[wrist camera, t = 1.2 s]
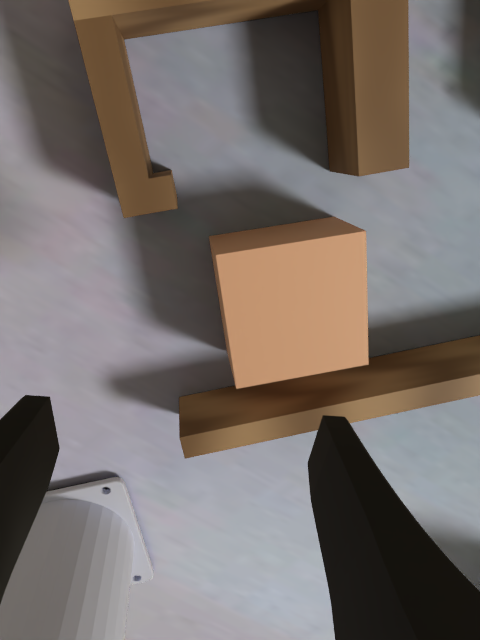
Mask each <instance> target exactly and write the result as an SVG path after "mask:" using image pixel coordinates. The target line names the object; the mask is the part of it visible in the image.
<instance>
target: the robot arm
mask: <svg viewBox="0 0 480 640" xmlns="http://www.w3.org/2000/svg"><path fill="white" fill-rule="evenodd" d="M59 449H60V448H59V443H58V438H57V432H56V427H55V422H54V416H53V411H52V406H51V400H50V397H45V396H30V395H25V396H24V397H23V398H21V399H20V400H19V401H18V402H17V403H16V404H15V405H14V406H13V407H12V408H11V409H10V410H9V411H8V412H7V413H6V414H5V415H4V416H3V417H2V418H1V419H0V640H125V631H126V621H127V612H128V602H129V593H130V585H134V584H138V583H143V582H147V581H150V580H151V579H152V578H153V573H154V570H153V567H152V564H151V560H150V557H149V554H148V551H147V548H146V545H145V542H144V539H143V536H142V533H141V530H140V527H139V524H138V521H137V518H136V515H135V512H134V509H133V506H132V503H131V500H130V497H129V494H128V491H127V488H126V485H125V482H124V480H123V479H121V478H119V477H113V478H108V479H103V480H99V481H94V482H89V483H85V484H80V485H75V486H71V487H66V488H61V489H57V490H52V491H48V492H46V491H47V489H48V486H49V483H50V480H51V477H52V473H53V470H54V467H55V463H56V459H57V456H58V452H59ZM308 473H309V485H310V495H311V503H312V508H313V513H314V518H315V523H316V528H317V533H318V538H319V543H320V548H321V553H322V557H323V562H324V567H325V572H326V577H327V582H328V587H329V593H330V599H331V606H332V615H333V623H334V632H335V640H480V591H479V590H478V589H477V588H476V587H475V586H474V585H473V584H472V583H471V582H470V581H469V580H468V579H467V578H466V577H465V576H464V575H463V574H462V573H461V572H460V571H459V570H458V568H457V567H456V566H455V565H454V564H453V563H452V562H451V561H450V560H449V559H448V557H447V556H446V555H445V554H444V553H443V552H442V551H441V549H440V548H439V547H438V546H437V545H436V544H435V543H434V541H433V540H432V539H431V538H430V537H429V535H428V534H427V533H426V532H425V531H424V529H423V528H422V527H421V526H420V524H419V523H418V522H417V521H416V519H415V518H414V517H413V515H412V514H411V513H410V511H409V510H408V509H407V508H406V506H405V505H404V504H403V502H402V501H401V500H400V498H399V497H398V495H397V494H396V493H395V491H394V490H393V488H392V487H391V486H390V484H389V483H388V481H387V480H386V479H385V477H384V476H383V474H382V473H381V471H380V470H379V468H378V467H377V465H376V464H375V462H374V461H373V459H372V458H371V456H370V455H369V453H368V452H367V450H366V449H365V447H364V445H363V444H362V442H361V441H360V439H359V438H358V436H357V434H356V433H355V431H354V430H353V428H352V426H351V425H350V423H349V421H348V420H347V419H346V417H342V416H328V415H323V416H322V419H321V423H320V426H319V429H318V432H317V435H316V438H315V442H314V445H313V448H312V451H311V454H310V458H309V461H308ZM103 487H108V488H110V489H104V488H103ZM136 575H139V576H136Z"/></svg>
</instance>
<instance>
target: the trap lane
mask: <svg viewBox="0 0 480 640" xmlns="http://www.w3.org/2000/svg"><path fill="white" fill-rule="evenodd" d="M68 1H69V5H70V8H71V12H72V16H73V20H74V24H75V28H76V32H77V36H78V40H79V44H80V48H81V52H82V56H83V60H84V64H85V67H86V71H87V75H88V79H89V83H90V87H91V91H92V95H93V99H94V103H95V107H96V111H97V115H98V119H99V123H100V126H101V130H102V134H103V138H104V142H105V146H106V150H107V154H108V158H109V162H110V166H111V170H112V174H113V178H114V182H115V185H116V189H117V193H118V197H119V201H120V205H121V209H122V213H123V217H124V218H127V217H133V216H138V215H144V214H150V213H155V212H161V211H166V210H172V209H178V208H177V194H176V189H175V184H174V179H173V174H172V170H168V171H162V172H156V173H153V169H152V165H151V160H150V156H149V151H148V147H147V142H146V138H145V133H144V128H143V124H142V119H141V115H140V110H139V106H138V101H137V97H136V92H135V88H134V83H133V78H132V74H131V69H130V65H129V60H128V56H127V51H126V47H125V42H124V39H130V38H137V37H143V36H150V35H157V34H163V33H170V32H177V31H183V30H190V29H196V28H203V27H210V26H216V25H223V24H230V23H236V22H243V21H250V20H256V19H263V18H269V17H276V16H283V15H289V14H296V13H303V12H309V11H316V10H318V16H319V30H320V44H321V58H322V72H323V86H324V100H325V113H326V127H327V141H328V155H329V169H330V171H331V172H337V173H343V174H348V175H354V176H364V175H369V174H375V173H381V172H386V171H392V170H398V169H403V168H409V47H408V0H68ZM368 360H369V365H363V366H358V367H352V368H347V369H341V370H336V371H331V372H325V373H320V374H314V375H309V376H304V377H298V378H293V379H287V380H282V381H276V382H271V383H266V384H260V385H255V386H249V387H244V388H239V389H236V386H231V387H226V388H221V389H216V390H211V391H207V392H202V393H197V394H192V395H187V396H182V397H179V428H180V441H181V445H182V449H183V453H184V457H185V458H190V457H194V456H199V455H204V454H208V453H213V452H218V451H222V450H227V449H232V448H236V447H241V446H246V445H250V444H255V443H259V442H264V441H269V440H273V439H278V438H283V437H287V436H292V435H297V434H301V433H306V432H311V431H315V430H318V429H319V426H320V423H321V419H322V416H323V415H328V416H342V417H346V419H347V420H348V421H349V423H353V422H357V421H362V420H367V419H371V418H376V417H380V416H385V415H390V414H394V413H399V412H404V411H408V410H413V409H418V408H422V407H427V406H432V405H436V404H441V403H446V402H450V401H455V400H460V399H464V398H469V397H474V396H478V395H480V335H479V336H474V337H469V338H464V339H460V340H455V341H450V342H445V343H440V344H435V345H430V346H426V347H421V348H416V349H411V350H406V351H401V352H396V353H391V354H387V355H382V356H377V357H372V358H368Z"/></svg>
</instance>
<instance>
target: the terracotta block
mask: <svg viewBox="0 0 480 640" xmlns="http://www.w3.org/2000/svg"><path fill="white" fill-rule="evenodd" d="M209 240H210V247H211V253H212V260H213V266H214V272H215V279H216V285H217V291H218V298H219V304H220V310H221V317H222V323H223V329H224V336H225V342H226V349H227V354H228V358H229V362H230V366H231V370H232V374H233V378H234V382H235V386H236V389H239V388H244V387H249V386H255V385H260V384H266V383H271V382H276V381H282V380H287V379H293V378H298V377H304V376H309V375H314V374H320V373H325V372H331V371H336V370H341V369H347V368H352V367H358V366H363V365H369V360H368V309H367V258H366V231H365V230H363V229H360V228H358V227H356V226H354V225H352V224H349V223H347V222H345V221H343V220H340V219H338V218H336V217H328V218H322V219H316V220H309V221H303V222H296V223H290V224H284V225H277V226H271V227H265V228H258V229H252V230H245V231H239V232H233V233H226V234H220V235H213V236H209Z"/></svg>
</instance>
